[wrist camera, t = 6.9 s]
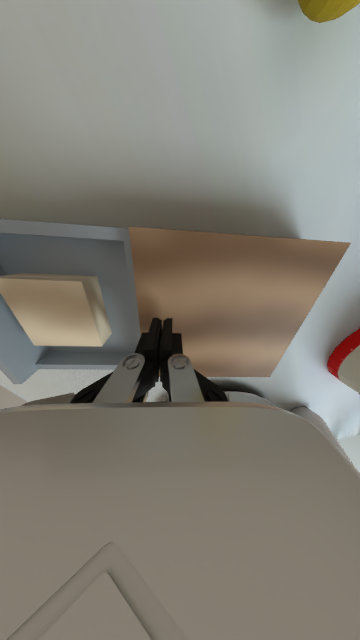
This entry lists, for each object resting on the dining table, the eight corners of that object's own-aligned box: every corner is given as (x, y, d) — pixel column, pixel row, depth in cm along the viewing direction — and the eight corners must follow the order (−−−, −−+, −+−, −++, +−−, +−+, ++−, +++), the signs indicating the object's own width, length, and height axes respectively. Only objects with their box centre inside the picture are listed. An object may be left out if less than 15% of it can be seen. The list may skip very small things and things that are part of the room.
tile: (81, 281, 11) (97, 276, 13) (-10, 277, 10) (22, 272, 12) (101, 346, 14) (111, 333, 16) (34, 345, 14) (53, 332, 16)
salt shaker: (314, 402, 28) (409, 507, 17) (309, 414, 31) (388, 512, 19) (286, 407, 29) (360, 512, 17) (284, 419, 31) (346, 516, 20)
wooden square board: (141, 233, 12) (128, 226, 8) (303, 244, 13) (350, 242, 9) (150, 353, 19) (145, 376, 16) (253, 354, 20) (269, 376, 17)
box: (-23, 221, 11) (-152, 203, 7) (141, 233, 12) (123, 223, 8) (52, 351, 18) (13, 384, 14) (150, 353, 19) (143, 384, 15)
